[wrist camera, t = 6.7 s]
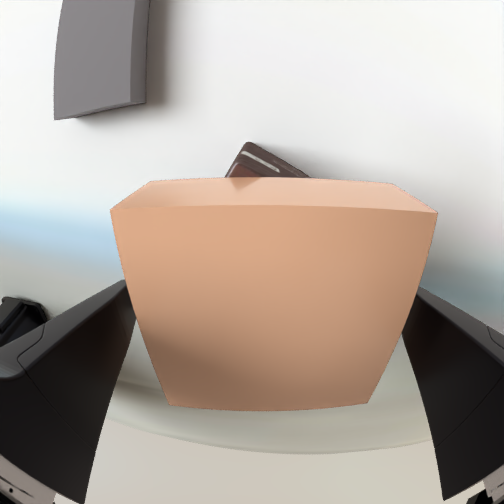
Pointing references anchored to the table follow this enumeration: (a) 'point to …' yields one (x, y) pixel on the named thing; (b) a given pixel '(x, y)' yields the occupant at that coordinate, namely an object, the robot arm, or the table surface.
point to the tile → (271, 286)
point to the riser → (100, 56)
